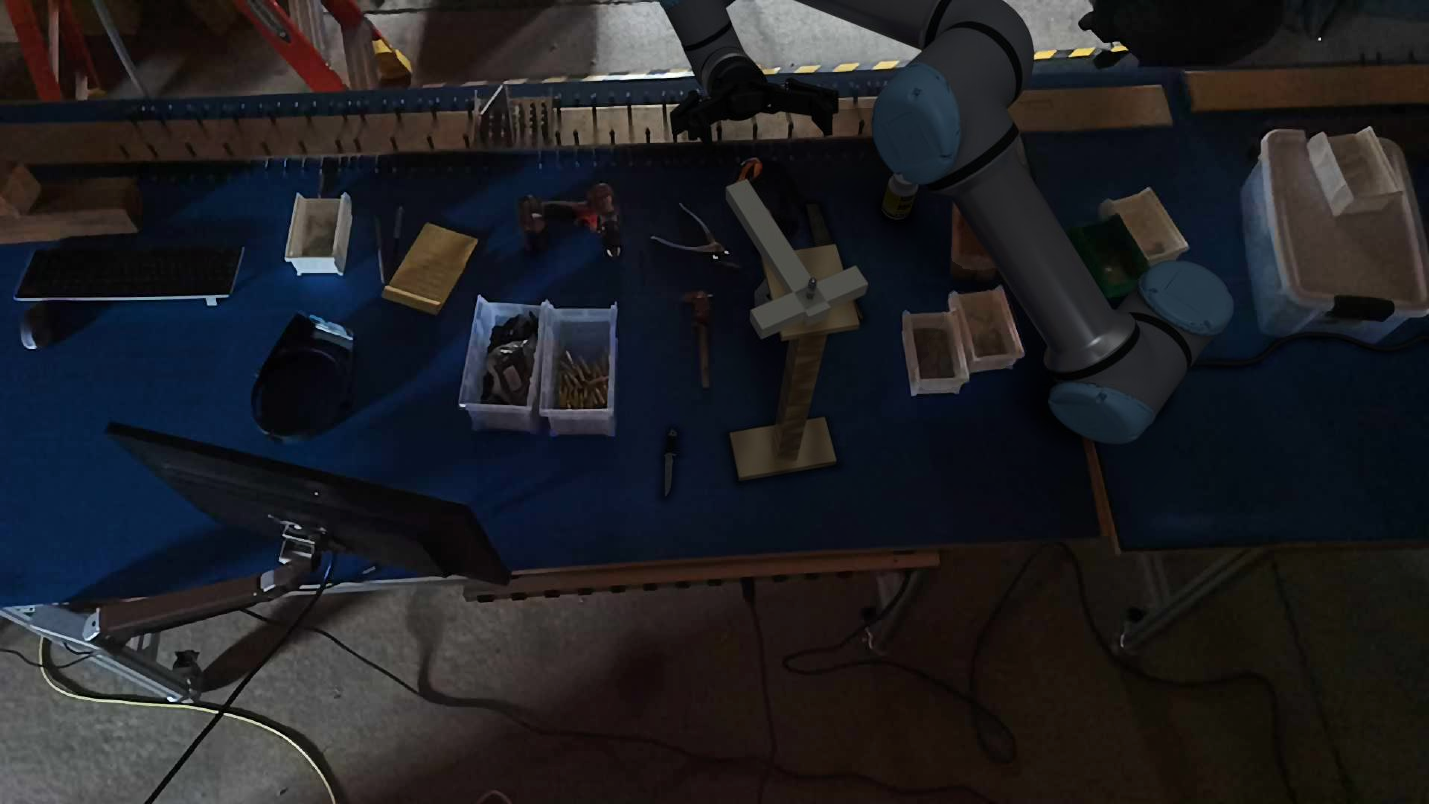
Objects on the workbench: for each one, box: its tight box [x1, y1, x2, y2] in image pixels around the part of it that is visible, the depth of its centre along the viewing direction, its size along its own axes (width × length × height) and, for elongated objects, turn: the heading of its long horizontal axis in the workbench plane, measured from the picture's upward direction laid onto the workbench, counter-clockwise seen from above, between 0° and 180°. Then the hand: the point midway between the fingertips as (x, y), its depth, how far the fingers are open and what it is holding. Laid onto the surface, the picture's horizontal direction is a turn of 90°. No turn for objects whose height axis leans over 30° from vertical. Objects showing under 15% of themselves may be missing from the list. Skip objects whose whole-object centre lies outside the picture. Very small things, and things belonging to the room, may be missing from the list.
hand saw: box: [805, 203, 864, 321], centre depth 138 cm, size 24×5×1 cm, turn 14°
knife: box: [663, 429, 678, 497], centre depth 122 cm, size 10×2×1 cm, turn 170°
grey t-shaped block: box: [725, 178, 869, 340], centre depth 88 cm, size 12×18×5 cm, turn 26°
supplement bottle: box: [881, 172, 919, 221], centre depth 139 cm, size 5×5×8 cm
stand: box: [729, 243, 861, 482], centre depth 106 cm, size 14×10×40 cm
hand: (769, 131), depth 95 cm, fingers open, 13 cm apart
